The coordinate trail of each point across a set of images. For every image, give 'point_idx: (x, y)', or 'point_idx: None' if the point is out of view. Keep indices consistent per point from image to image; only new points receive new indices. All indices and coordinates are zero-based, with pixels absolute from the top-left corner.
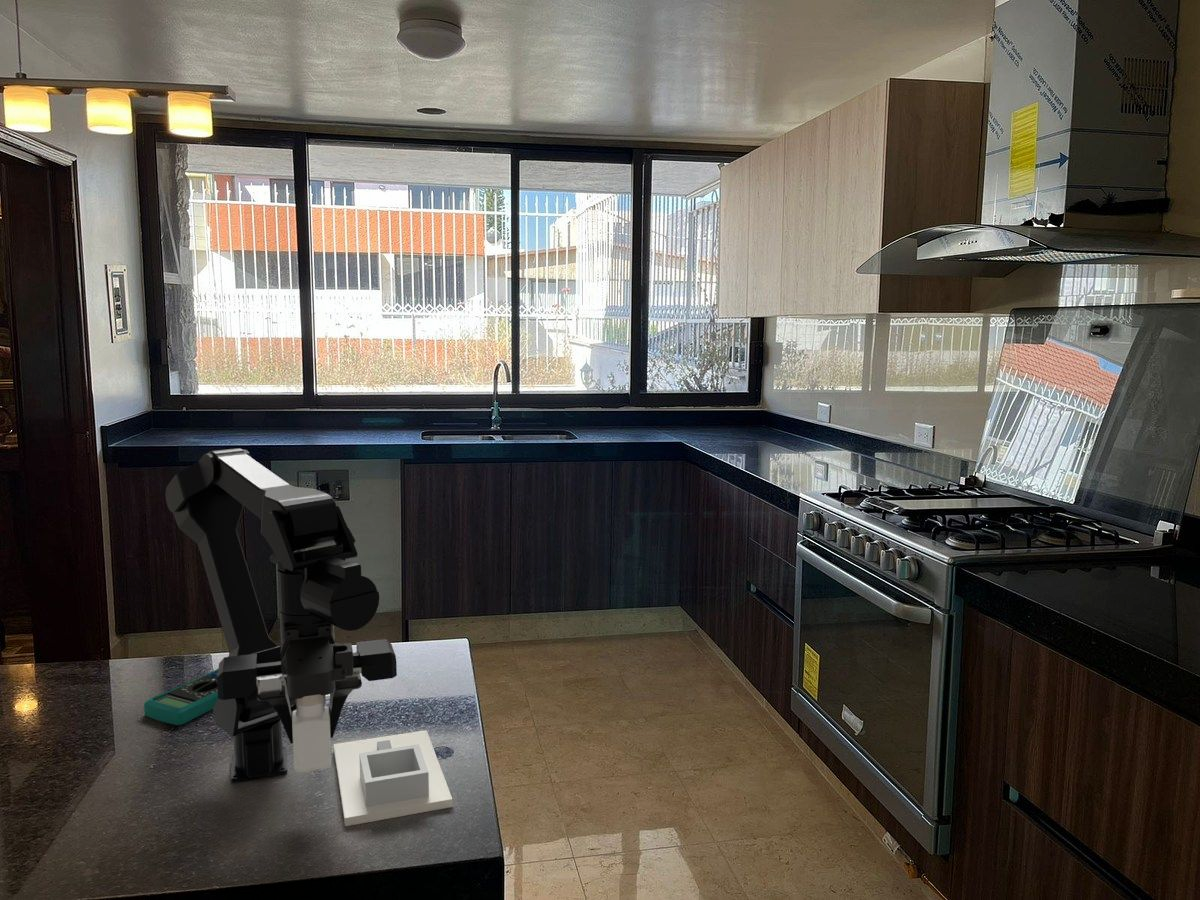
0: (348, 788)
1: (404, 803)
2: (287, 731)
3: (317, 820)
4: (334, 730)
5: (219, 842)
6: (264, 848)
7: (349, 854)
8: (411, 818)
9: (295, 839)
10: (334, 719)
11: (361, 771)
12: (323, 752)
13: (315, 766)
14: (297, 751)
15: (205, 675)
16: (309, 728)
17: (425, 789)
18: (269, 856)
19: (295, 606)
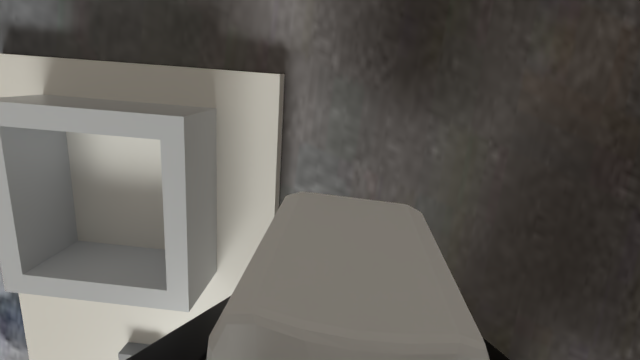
0: (252, 225)
1: (111, 83)
2: (498, 355)
3: (349, 136)
4: (218, 304)
5: (610, 135)
6: (505, 53)
7: None
8: (111, 42)
9: (419, 65)
10: (185, 341)
11: (199, 241)
12: (302, 215)
13: (343, 197)
14: (427, 241)
15: None
16: (367, 299)
17: (33, 96)
18: (500, 5)
19: None
